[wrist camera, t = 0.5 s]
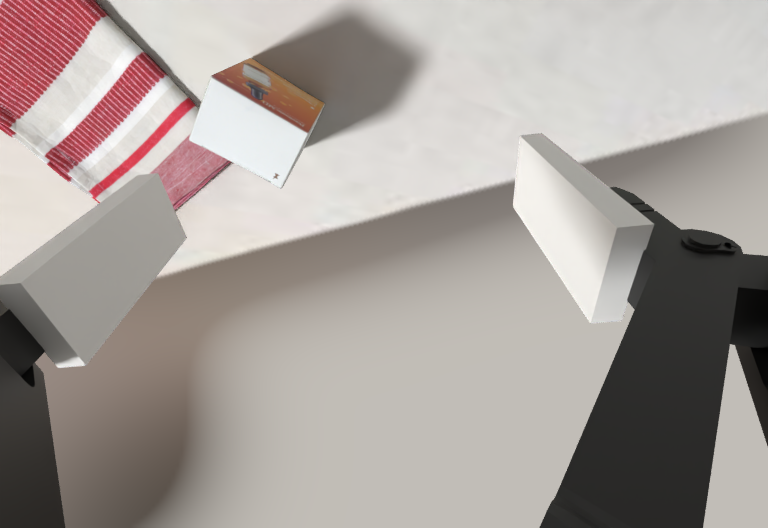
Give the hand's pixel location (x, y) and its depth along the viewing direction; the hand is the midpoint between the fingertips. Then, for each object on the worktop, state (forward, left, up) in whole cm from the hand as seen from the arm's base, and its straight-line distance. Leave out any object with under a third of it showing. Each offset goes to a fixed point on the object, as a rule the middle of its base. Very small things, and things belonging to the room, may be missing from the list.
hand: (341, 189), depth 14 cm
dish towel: (0, -27, -28) cm, 39 cm away
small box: (+2, -9, -28) cm, 29 cm away
